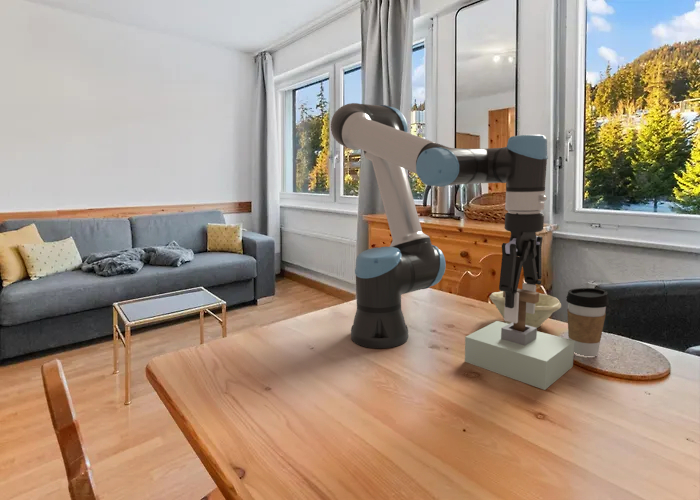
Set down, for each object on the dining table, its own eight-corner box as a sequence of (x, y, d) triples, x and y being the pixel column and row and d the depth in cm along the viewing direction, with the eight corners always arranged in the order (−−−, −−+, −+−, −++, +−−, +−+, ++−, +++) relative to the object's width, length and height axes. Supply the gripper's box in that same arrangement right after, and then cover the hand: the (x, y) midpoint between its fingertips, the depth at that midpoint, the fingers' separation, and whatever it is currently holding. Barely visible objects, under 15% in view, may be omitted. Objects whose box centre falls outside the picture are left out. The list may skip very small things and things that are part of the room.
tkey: (501, 335, 94) (502, 288, 92) (506, 333, 95) (508, 286, 93) (531, 344, 88) (534, 294, 86) (536, 341, 90) (539, 292, 88)
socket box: (464, 361, 95) (465, 326, 93) (496, 343, 104) (497, 311, 103) (544, 390, 82) (547, 349, 80) (572, 366, 91) (575, 329, 89)
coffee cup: (610, 361, 93) (615, 296, 90) (569, 359, 94) (573, 295, 92) (596, 346, 101) (601, 286, 98) (558, 344, 102) (562, 285, 100)
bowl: (493, 340, 117) (484, 297, 126) (562, 337, 114) (547, 292, 123) (498, 314, 106) (488, 269, 116) (573, 310, 104) (556, 264, 113)
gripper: (518, 217, 77) (514, 334, 82) (562, 208, 91) (556, 309, 95) (482, 215, 83) (479, 324, 87) (528, 207, 96) (524, 302, 100)
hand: (519, 316), depth 91 cm, fingers open, 7 cm apart
